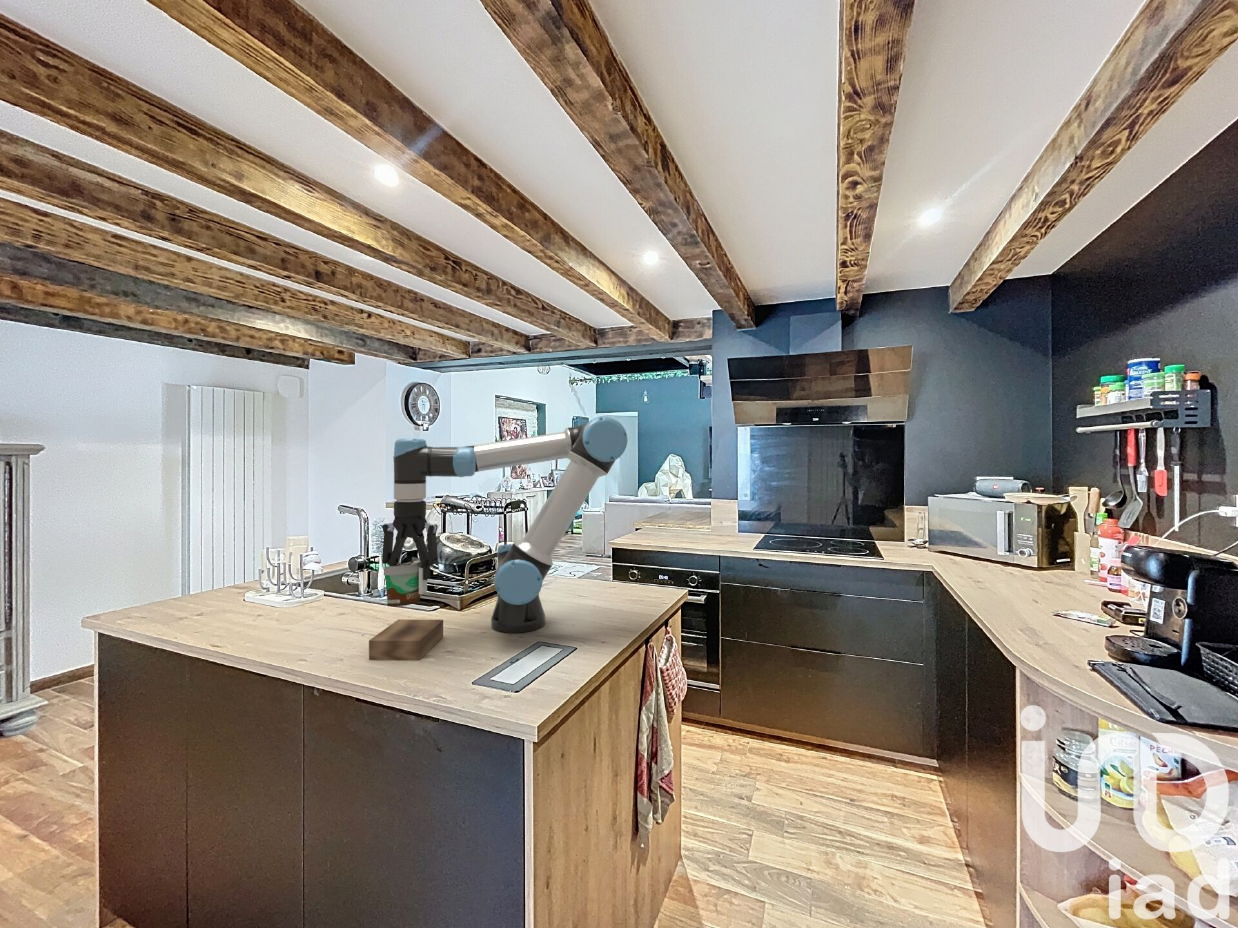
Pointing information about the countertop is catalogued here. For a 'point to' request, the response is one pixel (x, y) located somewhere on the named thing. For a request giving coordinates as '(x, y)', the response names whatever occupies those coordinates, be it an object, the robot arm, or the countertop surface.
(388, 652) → the walnut box
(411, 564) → the food container
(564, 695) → the countertop surface
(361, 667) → the countertop surface
